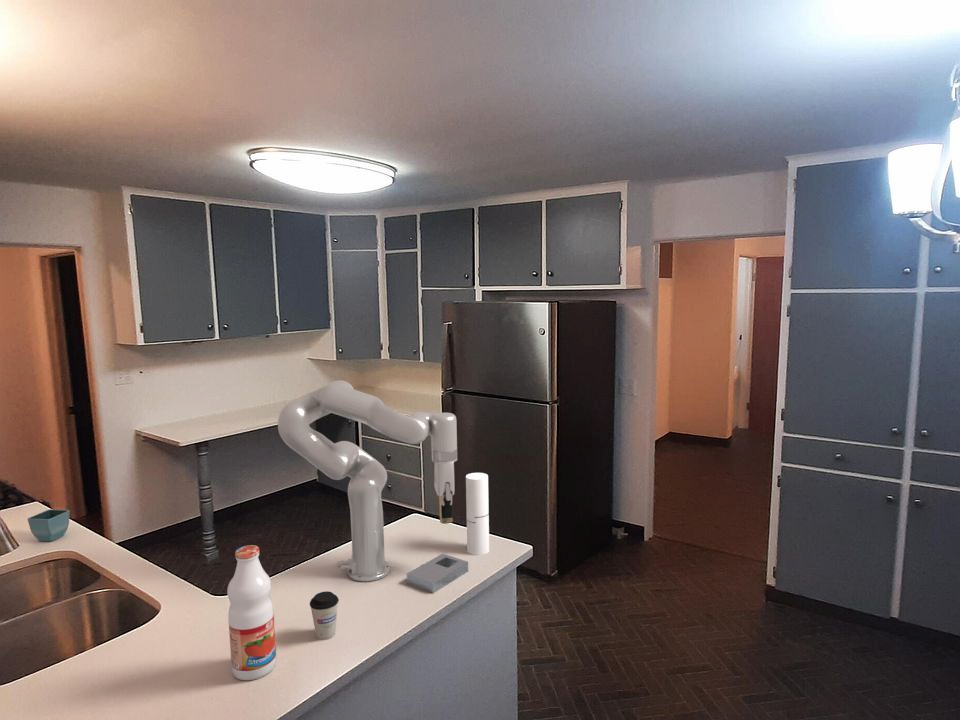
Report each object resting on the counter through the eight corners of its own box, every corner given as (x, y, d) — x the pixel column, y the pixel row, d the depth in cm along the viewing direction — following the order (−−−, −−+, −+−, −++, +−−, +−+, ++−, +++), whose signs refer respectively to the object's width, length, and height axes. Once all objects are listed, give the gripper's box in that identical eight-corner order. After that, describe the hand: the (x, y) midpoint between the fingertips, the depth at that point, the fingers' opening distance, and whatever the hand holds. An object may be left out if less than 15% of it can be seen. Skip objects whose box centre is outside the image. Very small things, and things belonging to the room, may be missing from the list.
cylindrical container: (489, 555, 188) (488, 479, 185) (466, 555, 188) (465, 479, 185) (489, 545, 195) (488, 472, 192) (467, 545, 195) (466, 472, 192)
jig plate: (433, 593, 164) (433, 583, 164) (407, 583, 170) (406, 573, 170) (468, 571, 177) (468, 561, 177) (442, 562, 183) (442, 553, 183)
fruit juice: (253, 651, 139) (246, 538, 135) (285, 660, 135) (278, 543, 132) (222, 676, 130) (214, 555, 127) (256, 685, 126) (248, 561, 123)
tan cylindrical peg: (440, 524, 173) (440, 497, 172) (439, 519, 176) (438, 493, 176) (453, 522, 174) (453, 496, 173) (451, 518, 177) (451, 492, 176)
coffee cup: (309, 630, 147) (307, 592, 146) (337, 624, 150) (335, 586, 149) (313, 645, 141) (311, 606, 139) (342, 638, 143) (340, 599, 142)
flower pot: (28, 543, 202) (26, 518, 201) (51, 533, 211) (49, 509, 210) (51, 544, 201) (48, 519, 200) (72, 534, 210) (70, 510, 208)
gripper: (428, 448, 180) (430, 506, 182) (435, 464, 164) (437, 527, 166) (452, 447, 182) (454, 504, 184) (461, 462, 165) (463, 524, 167)
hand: (445, 514), depth 175 cm, fingers closed on tan cylindrical peg, 3 cm apart
